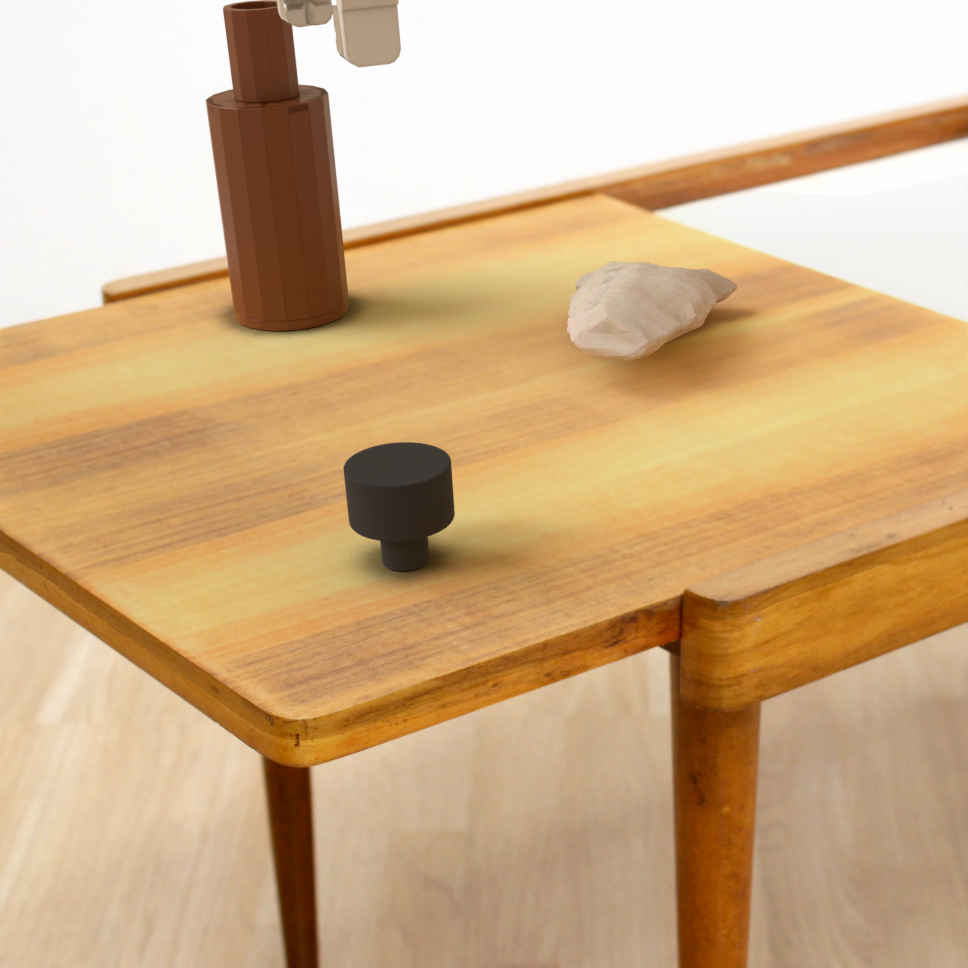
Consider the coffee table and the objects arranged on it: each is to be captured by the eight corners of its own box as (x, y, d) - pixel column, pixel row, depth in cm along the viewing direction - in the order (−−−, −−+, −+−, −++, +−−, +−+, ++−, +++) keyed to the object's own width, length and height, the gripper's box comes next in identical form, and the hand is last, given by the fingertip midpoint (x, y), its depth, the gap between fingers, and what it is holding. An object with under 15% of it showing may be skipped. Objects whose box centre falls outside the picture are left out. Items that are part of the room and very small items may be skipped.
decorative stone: (742, 239, 91) (692, 323, 78) (738, 309, 93) (690, 402, 80) (580, 228, 93) (507, 308, 80) (581, 297, 95) (509, 386, 82)
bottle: (270, 339, 91) (230, 19, 83) (215, 311, 96) (172, 7, 87) (370, 312, 94) (341, 3, 86) (312, 287, 99) (279, -8, 91)
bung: (390, 596, 63) (381, 496, 61) (333, 558, 66) (323, 462, 64) (478, 562, 65) (472, 464, 63) (419, 527, 68) (411, 433, 66)
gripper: (140, -389, 56) (198, 13, 62) (242, -466, 38) (309, 103, 45) (312, -395, 57) (352, -3, 64) (484, -470, 40) (516, 78, 46)
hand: (336, 42), depth 54 cm, fingers open, 8 cm apart
